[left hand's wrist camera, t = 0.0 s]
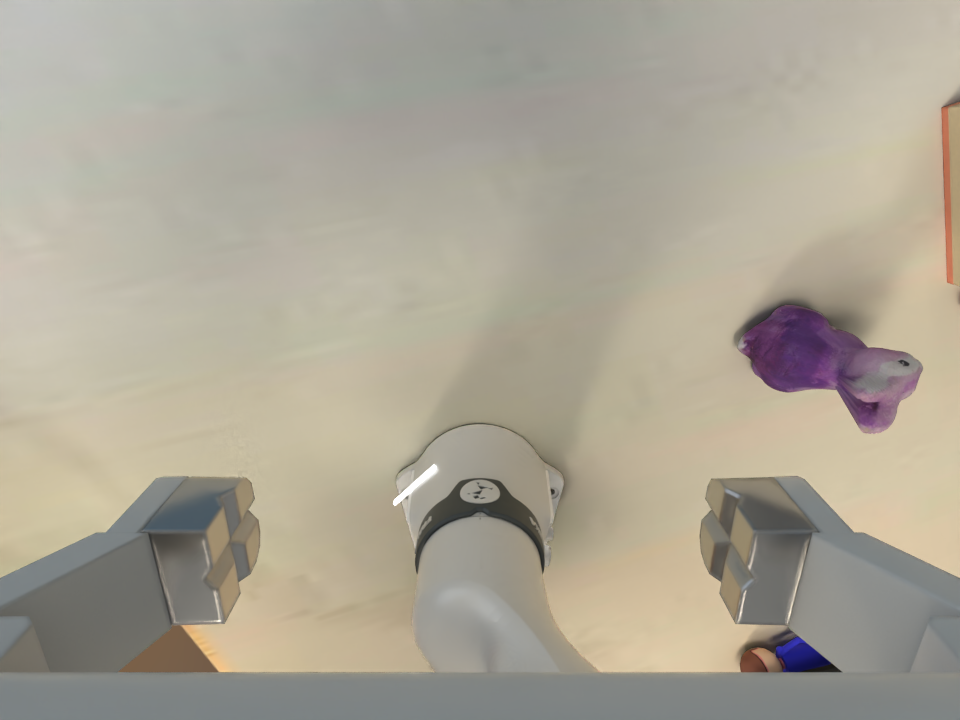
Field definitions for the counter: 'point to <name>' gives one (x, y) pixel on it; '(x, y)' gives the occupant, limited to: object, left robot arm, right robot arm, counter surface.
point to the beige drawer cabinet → (952, 188)
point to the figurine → (830, 364)
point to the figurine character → (786, 659)
